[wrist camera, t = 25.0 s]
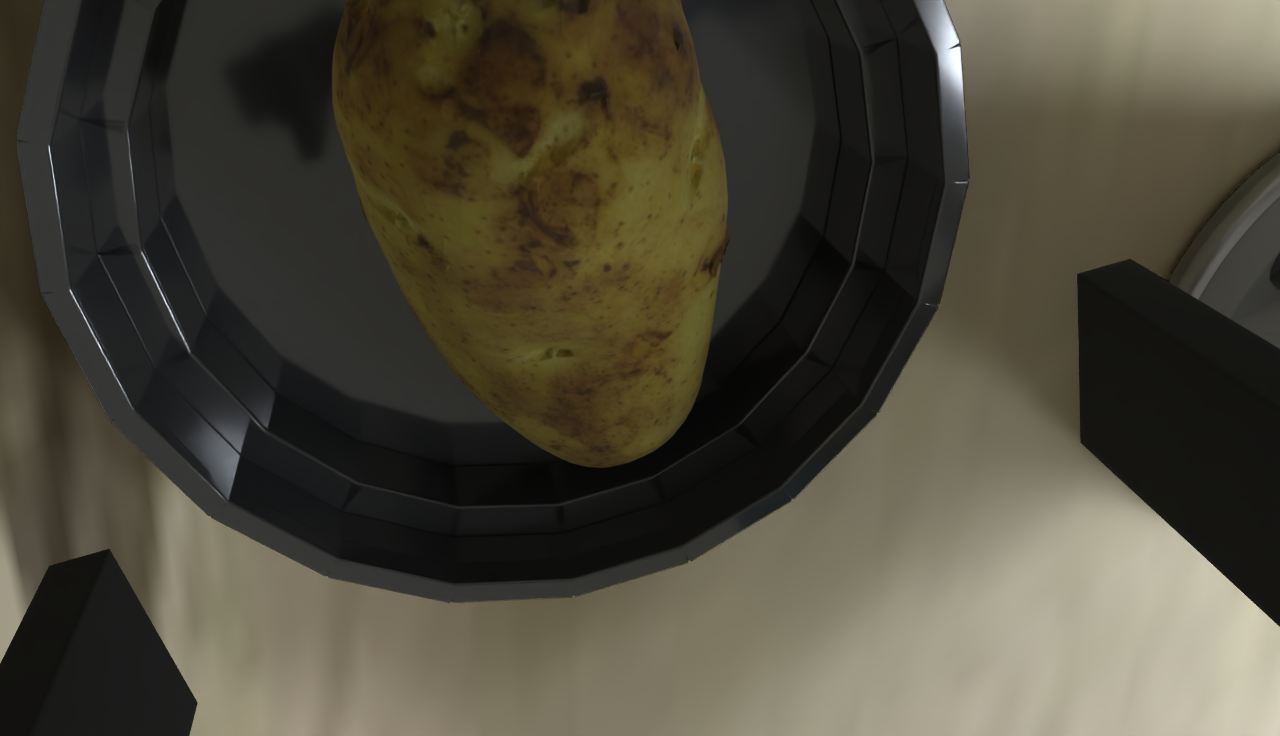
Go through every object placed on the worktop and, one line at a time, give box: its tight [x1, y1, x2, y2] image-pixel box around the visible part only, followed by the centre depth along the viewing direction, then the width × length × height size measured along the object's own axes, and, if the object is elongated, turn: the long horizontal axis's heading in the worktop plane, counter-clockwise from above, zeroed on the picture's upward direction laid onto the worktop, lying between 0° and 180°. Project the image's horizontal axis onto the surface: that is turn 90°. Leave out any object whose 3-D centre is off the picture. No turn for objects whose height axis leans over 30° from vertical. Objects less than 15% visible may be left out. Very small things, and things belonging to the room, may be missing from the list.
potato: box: [332, 0, 731, 468], centre depth 22 cm, size 8×13×8 cm, turn 173°
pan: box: [16, 0, 970, 603], centre depth 24 cm, size 19×19×4 cm
